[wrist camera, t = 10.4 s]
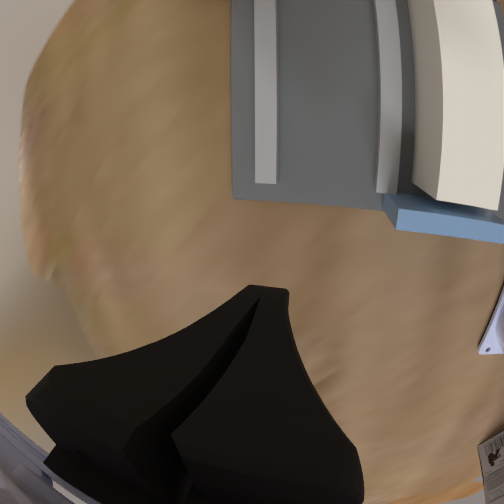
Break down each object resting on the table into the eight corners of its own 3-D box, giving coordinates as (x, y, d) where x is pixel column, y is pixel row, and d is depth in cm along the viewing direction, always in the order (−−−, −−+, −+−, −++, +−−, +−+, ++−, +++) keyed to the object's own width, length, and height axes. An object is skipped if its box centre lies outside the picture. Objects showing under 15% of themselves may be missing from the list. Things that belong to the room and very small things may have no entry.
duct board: (497, 5, 8) (527, -14, 4) (498, 226, 14) (531, 252, 11) (233, -31, 12) (209, -62, 8) (234, 197, 19) (208, 217, 15)
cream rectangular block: (458, 9, 9) (487, -16, 5) (462, 190, 14) (497, 210, 10) (406, -6, 10) (424, -38, 6) (411, 181, 15) (436, 200, 11)
